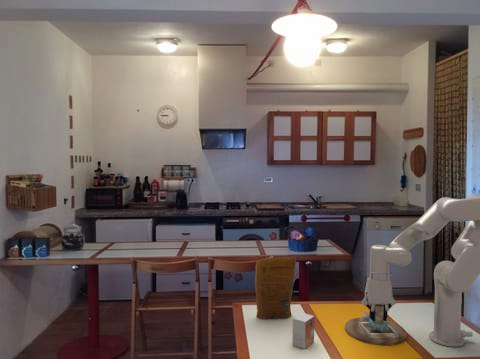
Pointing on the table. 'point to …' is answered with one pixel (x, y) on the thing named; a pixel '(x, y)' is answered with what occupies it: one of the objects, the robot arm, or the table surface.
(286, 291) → the pancake mix bag
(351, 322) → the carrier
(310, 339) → the small box
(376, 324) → the gear
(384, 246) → the robot arm
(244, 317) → the table surface
